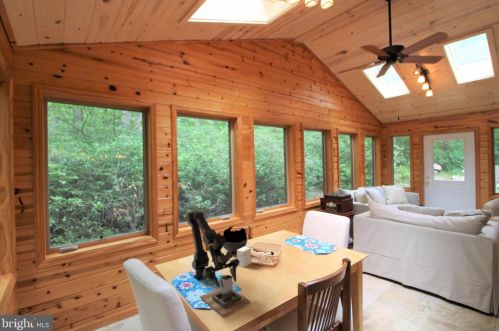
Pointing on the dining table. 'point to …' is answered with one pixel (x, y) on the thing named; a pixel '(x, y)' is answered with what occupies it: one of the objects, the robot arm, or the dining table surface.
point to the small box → (244, 256)
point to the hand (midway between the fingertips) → (227, 284)
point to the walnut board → (219, 305)
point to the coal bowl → (235, 239)
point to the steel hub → (226, 288)
